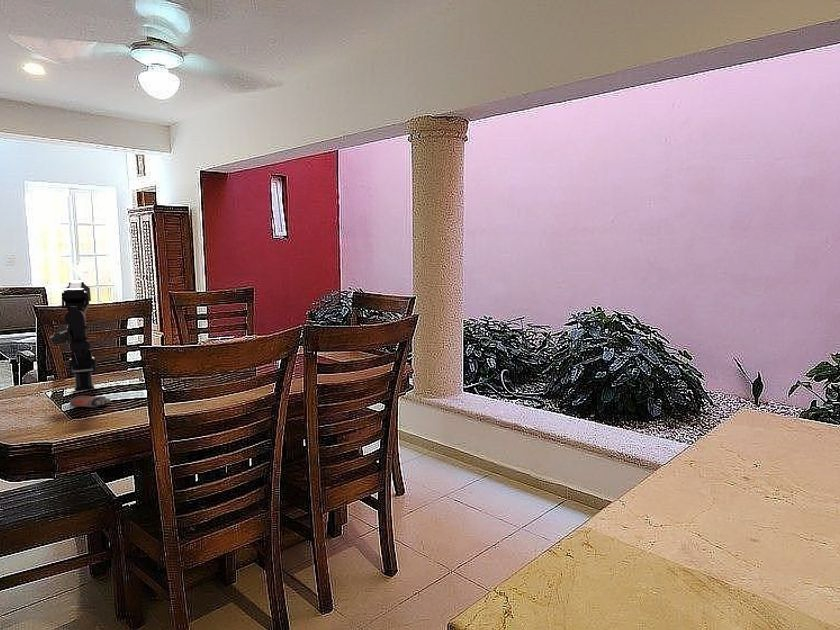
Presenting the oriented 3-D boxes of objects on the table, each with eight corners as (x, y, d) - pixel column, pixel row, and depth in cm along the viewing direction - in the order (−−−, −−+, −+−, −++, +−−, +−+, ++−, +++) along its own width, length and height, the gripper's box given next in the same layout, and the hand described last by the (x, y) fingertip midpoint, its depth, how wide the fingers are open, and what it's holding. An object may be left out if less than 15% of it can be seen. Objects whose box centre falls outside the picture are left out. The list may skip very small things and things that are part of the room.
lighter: (69, 408, 195) (96, 409, 193) (69, 398, 195) (95, 399, 193) (87, 403, 203) (112, 404, 201) (87, 394, 203) (112, 395, 201)
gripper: (49, 322, 210) (52, 364, 211) (50, 327, 194) (54, 372, 196) (84, 320, 216) (87, 361, 218) (88, 325, 201) (91, 368, 202)
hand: (79, 365), depth 208 cm, fingers closed
